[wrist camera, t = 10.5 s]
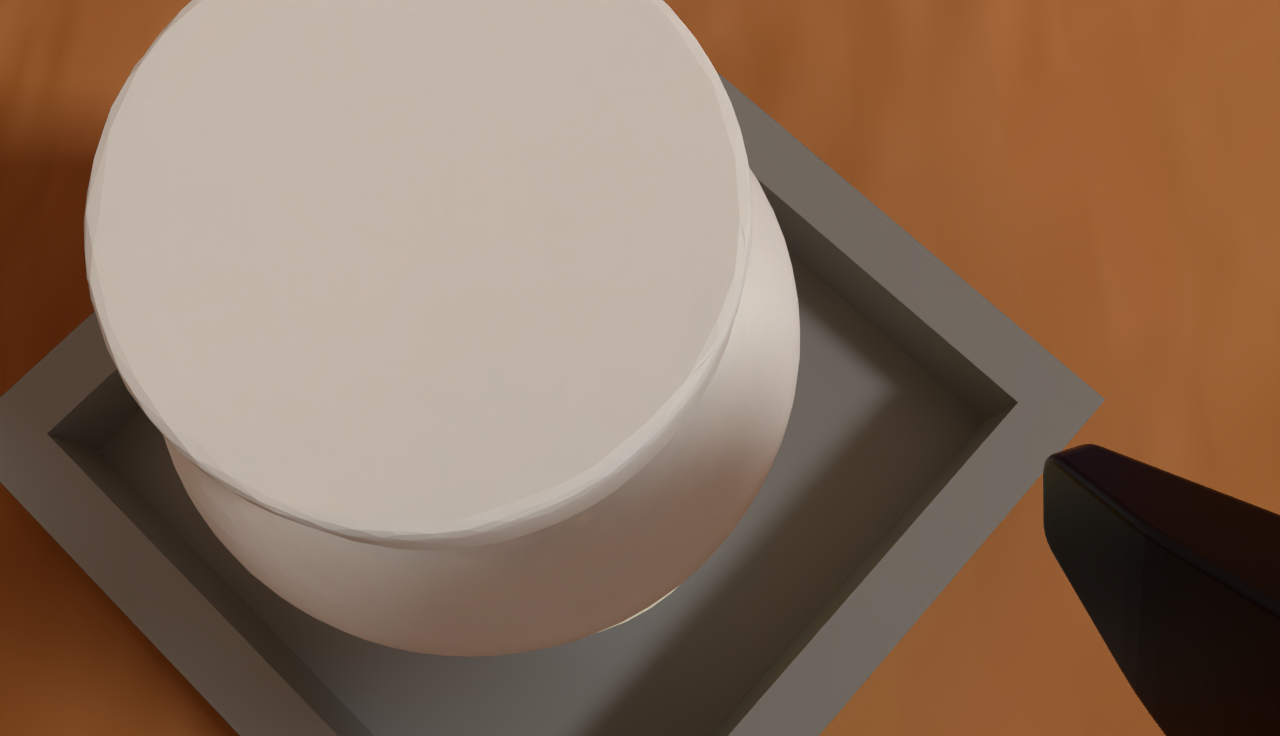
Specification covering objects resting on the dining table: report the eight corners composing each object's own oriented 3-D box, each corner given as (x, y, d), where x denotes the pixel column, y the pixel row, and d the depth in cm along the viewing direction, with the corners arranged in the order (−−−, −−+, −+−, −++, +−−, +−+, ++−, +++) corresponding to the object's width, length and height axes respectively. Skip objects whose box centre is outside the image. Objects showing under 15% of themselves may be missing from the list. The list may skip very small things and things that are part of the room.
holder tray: (556, 997, 18) (543, 1057, 15) (40, 458, 20) (-44, 436, 17) (1047, 426, 20) (1105, 399, 18) (540, -9, 22) (529, -86, 20)
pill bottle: (287, 549, 18) (-256, 455, 7) (445, 213, 20) (199, -319, 8) (644, 698, 18) (676, 856, 7) (781, 344, 19) (1003, -30, 8)
